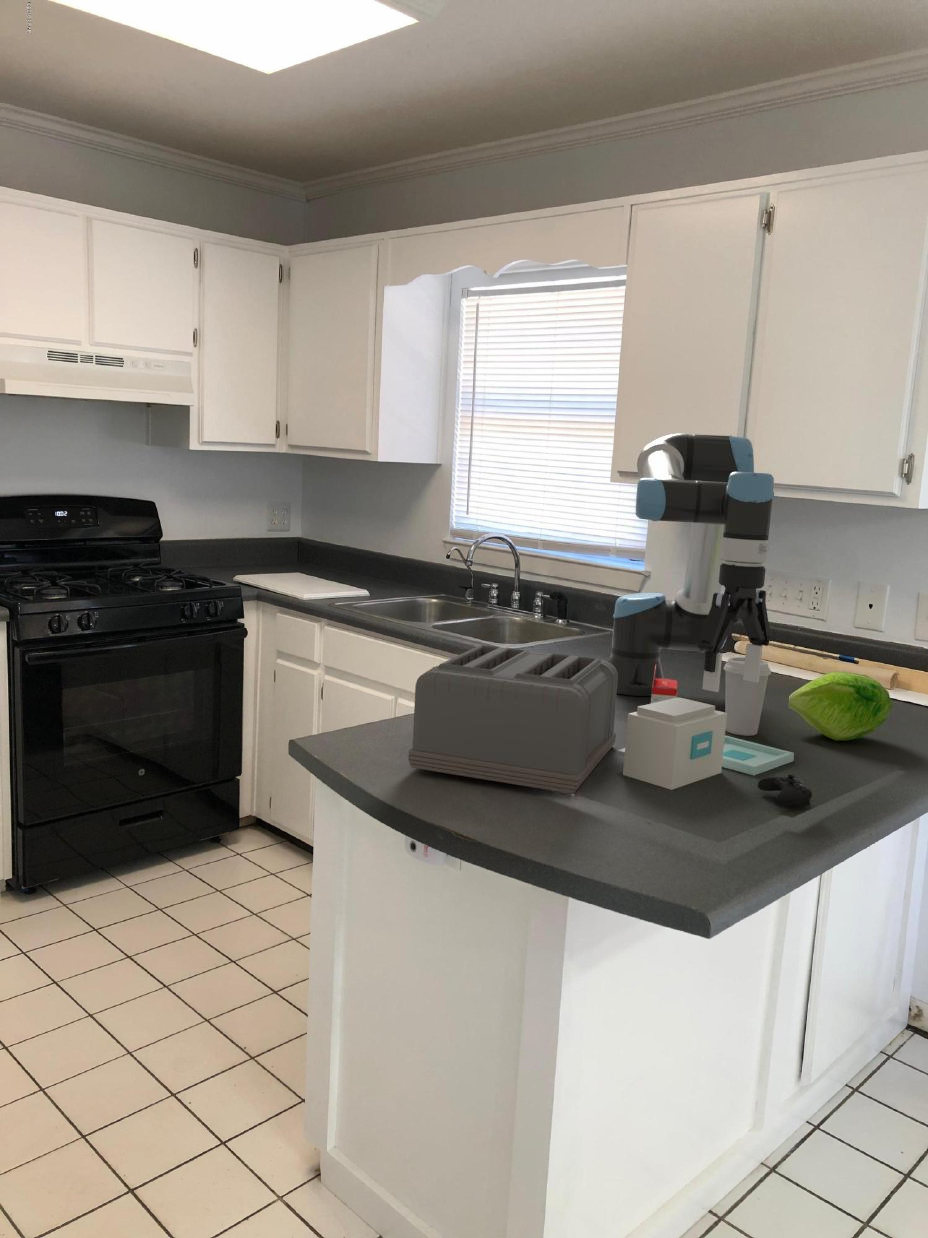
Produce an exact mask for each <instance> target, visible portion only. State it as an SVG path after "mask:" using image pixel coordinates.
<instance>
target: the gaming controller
mask: <svg viewBox="0 0 928 1238" xmlns="http://www.w3.org/2000/svg"><path fill="white" fill-rule="evenodd" d="M757 788H758V789H759V790H760V791H764V792H776V791H777V792H778V791H779V793H777V796H776V797H775V800H774V803H775V805H776V806H777V807H780V808H786V807H791V806H794V805H797V804H798V805H801V806H803V807H806V806H811V798H812V796H813V791H812V790H811V789H809V788H808V787H806V786H805V784H803V783H802V782H801V781H800V780H798V779H795V776H794V775H793V774H788V775H787V777H786V776H785V777H781V776H765V777H763V778H761V779H759V781H758V782H757Z"/></svg>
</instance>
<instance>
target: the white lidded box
mask: <svg viewBox="0 0 928 1238" xmlns="http://www.w3.org/2000/svg"><path fill="white" fill-rule="evenodd" d="M726 719H727V713H725V711H724V712H723V711H721V710H716V705H712V704H709V703H704V702H700V701H697V700H692V699H687V698H682V697H678V696H677V698H673V699H669V700H665V701H660V702H656V703H651V702H650V703H649V704H648V703H647V704H645V705H644V704H643V705H638V706H637V708H636V711H633V712H629V713H627V721H626V733H625V743H624V744H625V745H624V746H625V747H623V748H620V749H617V750H616V756H621V757H624V758H623V768H622V769H623V770H622V776H625V777H628V778H632V779H635V780H639V781H641V782H646V783H648V784H652V785H654V786H658V787H661V788H664V789H666V790H667V789H668V790H672V791H673V790H674V789H678V788H681V787H684V786H686V785H687V786H688V785H689V784H692V783H695V782H699V781H701V780H705V779H707V778H711V777H714V776H716V775H718V774H721V773H722V770H723V769H722V768H723V767H722V760H723V750H724V739H725V735H726V730H725V729H726Z"/></svg>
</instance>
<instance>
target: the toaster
mask: <svg viewBox="0 0 928 1238" xmlns="http://www.w3.org/2000/svg"><path fill="white" fill-rule="evenodd" d="M617 682H618V673H617V670H616V668H615V667H614V666H613V665H612V664H611V663H609V661H607V660H602V659H600V658H595V657H589V656H588V657H586V656H579V655H571V654H570V655H569V654H563V653H562V654H560V653H553V652H550V653H543V652H536V651H529V650H527V649H520V648H510V647H502V646H494V645H493V646H491V645H485V644H480V645H477V646H476V647H473V648H471V649H469V650H466V651H464V652H463V653H460V654H458V655H456V656H454V657H452V658H450V659H447V660H446V661H444V662H442V663H439V665H437V666H433V667H431V668H430V669H429V670H427V671H425V672H423V673H422V674H421V675H420V676H419V677H418V678H417V680H416V682H415V691H414V709H413V710H414V711H413V712H414V713H413V714H414V715H413V729H412V733H413V734H412V748H410V749H409V750H408V752H407V759H408V763H409V766H410V767H411V768H412V769H418V770H424V771H430V772H438V773H443V774H448V775H455V776H462V777H468V778H474V779H479V780H487V781H493V782H499V783H505V784H512V785H516V786H522V787H529V788H535V789H542V790H548V791H552V792H559V793H560V792H561V793H566V794H574V793H576V791H577V790H578V789H579V788H580V786H581V785H582V784H583V783H584V781H585V780H586V779H587V778H588V777H589V775H590V774H591V773H592V772H593V770H594V769H595V768H596V767H597V765H598V764H599V763H600V762H601V760H603V758H604V757H605V756H606V755H607V753H608V752H609V751H610V750H611V749H612V747H614V745H615V743H616V735H617V734H616V732H614V731H615V730H614V729H615V719H616V718H615V717H616V708H617V707H616V705H617V694H618V693H617Z"/></svg>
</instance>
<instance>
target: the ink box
mask: <svg viewBox="0 0 928 1238" xmlns="http://www.w3.org/2000/svg"><path fill="white" fill-rule="evenodd" d="M655 673H656V664H655V669H654V677H653V685H652V696H650V704H651V703H656V702H660V701H665V700H669V699H673V698H678V680H675V679H668V678H664V679H657V678H655Z"/></svg>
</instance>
